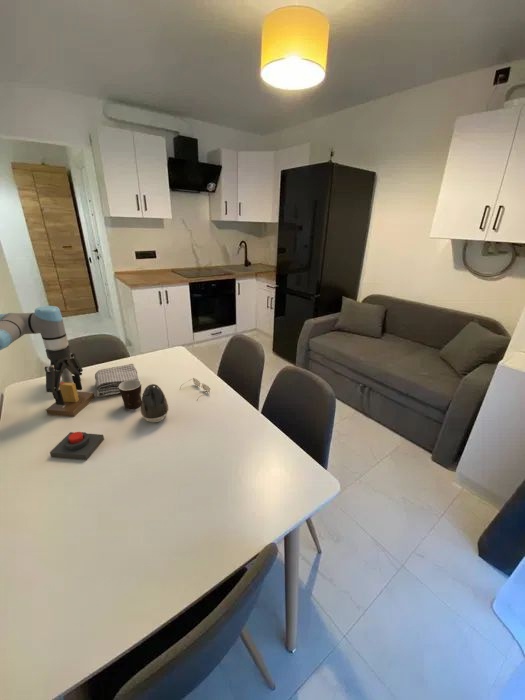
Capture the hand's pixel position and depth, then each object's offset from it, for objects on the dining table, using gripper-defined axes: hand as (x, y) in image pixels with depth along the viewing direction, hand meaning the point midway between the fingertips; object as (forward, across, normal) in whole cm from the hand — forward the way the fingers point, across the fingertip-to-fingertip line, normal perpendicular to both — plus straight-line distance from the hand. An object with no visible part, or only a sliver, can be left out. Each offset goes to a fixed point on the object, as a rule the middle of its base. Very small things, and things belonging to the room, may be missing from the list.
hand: (70, 396), depth 119 cm
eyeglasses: (+5, -17, +47) cm, 50 cm away
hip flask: (+5, -15, -12) cm, 20 cm away
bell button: (+1, +23, +18) cm, 29 cm away
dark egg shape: (+5, +4, +37) cm, 38 cm away
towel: (+5, -17, +11) cm, 21 cm away
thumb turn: (+2, 0, 0) cm, 2 cm away
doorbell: (+4, +23, +18) cm, 30 cm away
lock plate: (+4, 0, 0) cm, 4 cm away
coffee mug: (+5, -2, +24) cm, 25 cm away
